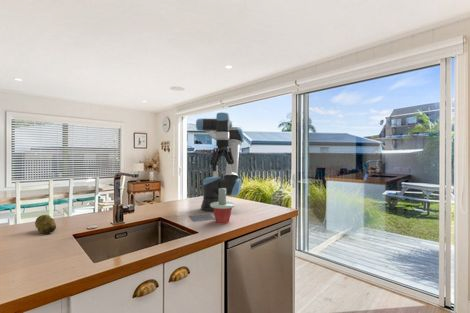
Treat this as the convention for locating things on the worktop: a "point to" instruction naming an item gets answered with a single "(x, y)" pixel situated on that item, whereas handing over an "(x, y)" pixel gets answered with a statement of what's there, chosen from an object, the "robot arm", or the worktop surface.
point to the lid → (222, 201)
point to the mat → (201, 217)
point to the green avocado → (45, 224)
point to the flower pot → (222, 215)
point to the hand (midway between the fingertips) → (222, 175)
